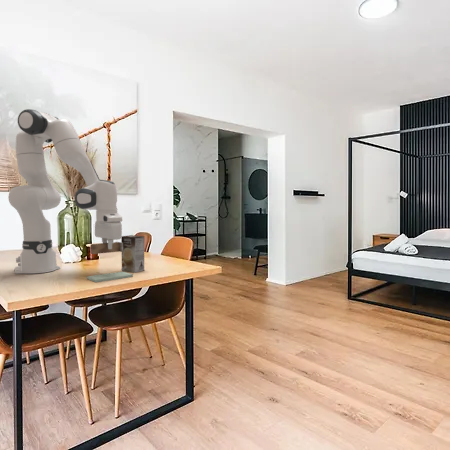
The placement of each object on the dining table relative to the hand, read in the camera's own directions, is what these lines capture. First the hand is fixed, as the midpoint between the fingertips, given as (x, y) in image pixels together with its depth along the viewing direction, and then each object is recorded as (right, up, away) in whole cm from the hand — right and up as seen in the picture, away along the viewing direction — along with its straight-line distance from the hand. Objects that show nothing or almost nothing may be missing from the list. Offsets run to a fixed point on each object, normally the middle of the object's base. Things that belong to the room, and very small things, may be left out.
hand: (107, 248), depth 157 cm
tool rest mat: (+3, -12, -7) cm, 14 cm away
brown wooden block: (-1, -2, -1) cm, 2 cm away
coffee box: (+9, -11, +9) cm, 17 cm away
